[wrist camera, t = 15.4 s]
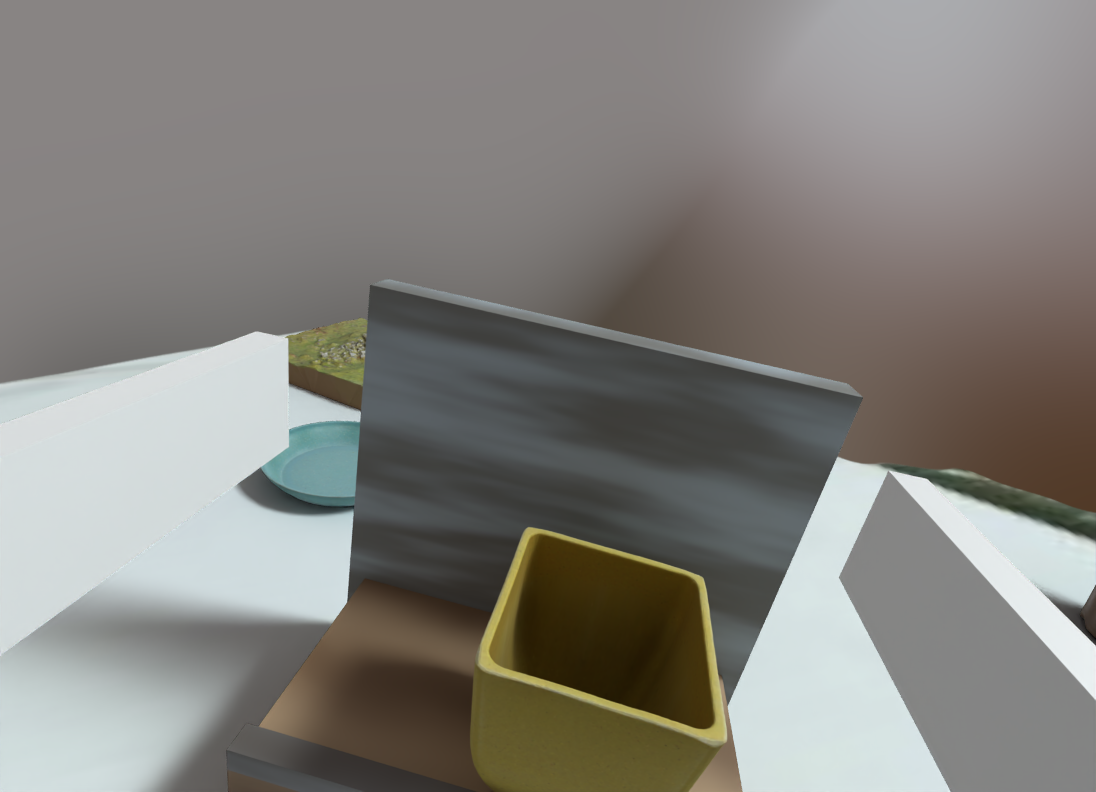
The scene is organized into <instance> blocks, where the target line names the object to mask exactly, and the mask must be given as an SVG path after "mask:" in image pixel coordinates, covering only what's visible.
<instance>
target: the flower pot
mask: <svg viewBox="0 0 1096 792" xmlns="http://www.w3.org/2000/svg"><path fill="white" fill-rule="evenodd" d="M726 742H727V728H726V721H725V715H724V709H723V702H722V695H721V689H720V683H719V677H718V670H717V663H716V655H715V648H714V642H713V633H712V627H711V620H710V610H709V604H708V597H707V590H706V586H705V582H704V579H703V577H701V576H699V575H696V574H694V573H691V572H688V571H686V570H683V569H680V568H676V567H673V566H670V565H667V564H664V563H660V562H657V561H653V560H650V559H647V558H643V557H640V556H636V555H632V554H629V553H625V552H622V551H618V550H615V549H611V548H608V547H604V546H600V545H597V544H593V543H590V542H586V541H583V540H579V539H576V538H572V537H569V536H566V535H562V534H559V533H555V532H551V531H547V530H542V529H537V528H532V527H528V528H526V529H525V530H524V532H523V534H522V536H521V539H520V542H519V544H518V547H517V550H516V552H515V555H514V558H513V561H512V563H511V566H510V569H509V571H508V574H507V577H506V579H505V582H504V585H503V587H502V590H501V592H500V595H499V597H498V600H497V603H496V605H495V608H494V610H493V612H492V615H491V617H490V620H489V622H488V624H487V627H486V629H485V632H484V634H483V637H482V639H481V642H480V645H479V648H478V650H477V654H476V657H475V667H474V678H473V694H472V711H471V728H470V747H471V754H472V759H473V763H474V766H475V768H476V770H477V772H478V774H479V776H480V777H481V779H482V780H483V781H484V782H485V784H486V785H487V786H488V787H489V788H490V789H492V790H493V791H494V792H689V791H690V789H691V788H692V787H693V785H694V784H695V782H696V781H697V780H698V779H699V777H700V776H701V775H702V773H703V772H704V771H705V769H706V768H707V767H708V765H709V764H710V762H711V761H712V760H713V758H714V757H715V756H716V754H717V753H718V752H719V750H720V749H721V748H722V747H723V745H724V744H725V743H726Z"/></svg>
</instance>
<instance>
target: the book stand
mask: <svg viewBox="0 0 1096 792" xmlns="http://www.w3.org/2000/svg"><path fill="white" fill-rule="evenodd" d="M862 399H863V397H862V396H861V395H860V394H859V393H858V392H856V391H855V390H854V389H853V388H852V387H851V386H849V385H848V384H846V383H842V382H838V381H833V380H829V379H824V378H820V377H815V376H811V375H807V374H802V373H798V372H793V371H789V370H785V369H780V368H776V367H772V366H767V365H763V364H758V363H754V362H750V361H745V360H741V359H736V358H732V357H728V356H723V355H718V354H715V353H710V352H706V351H701V350H697V349H692V348H688V347H684V346H679V345H675V344H670V343H666V342H662V341H657V340H652V339H648V338H644V337H640V336H635V335H631V334H626V333H622V332H618V331H613V330H609V329H605V328H600V327H596V326H591V325H587V324H583V323H578V322H574V321H570V320H565V319H560V318H556V317H552V316H547V315H543V314H539V313H534V312H530V311H525V310H521V309H517V308H512V307H508V306H504V305H499V304H495V303H490V302H486V301H482V300H477V299H473V298H468V297H464V296H460V295H455V294H450V293H446V292H442V291H438V290H433V289H429V288H424V287H420V286H416V285H411V284H407V283H402V282H398V281H394V280H389V279H386V280H383V281H380V282H377V283H374V284H371V285H370V294H369V308H368V322H367V336H366V350H365V364H364V377H363V391H362V405H361V419H360V433H359V447H358V461H357V475H356V489H355V503H354V516H353V530H352V544H351V558H350V572H349V586H348V600H347V604H346V605H345V606H344V608H343V609H342V611H341V612H340V613H339V615H338V616H337V618H336V619H335V620H334V622H333V623H332V625H331V626H330V627H329V629H328V630H327V632H326V633H325V634H324V636H323V637H322V639H321V640H320V641H319V643H318V644H317V645H316V647H315V648H314V650H313V651H312V652H311V654H310V655H309V657H308V658H307V659H306V661H305V662H304V664H303V665H302V666H301V668H300V669H299V671H298V672H297V673H296V675H295V676H294V678H293V679H292V680H291V682H290V683H289V684H288V686H287V687H286V689H285V690H284V691H283V693H282V694H281V696H280V697H279V698H278V700H277V701H276V703H275V704H274V705H273V707H272V708H271V710H270V711H269V712H268V714H267V715H266V717H265V718H264V719H263V721H262V722H261V723H260V725H259V726H255V725H252V724H249V723H246V724H245V726H244V727H243V728H242V730H241V731H240V732H239V734H238V735H237V736H236V738H235V739H234V740H233V742H232V743H231V745H230V746H229V747H228V749H227V776H228V792H494V791H493V790H492V789H490V788H489V787H488V786H487V785H486V784H485V782H484V781H483V780H482V779H481V777H480V776H479V774H478V772H477V770H476V768H475V766H474V763H473V759H472V754H471V747H470V728H471V711H472V694H473V678H474V667H475V657H476V654H477V650H478V648H479V645H480V642H481V639H482V637H483V634H484V632H485V629H486V627H487V624H488V622H489V620H490V617H491V615H492V612H493V610H494V608H495V605H496V603H497V600H498V597H499V595H500V592H501V590H502V587H503V585H504V582H505V579H506V577H507V574H508V571H509V569H510V566H511V563H512V561H513V558H514V555H515V552H516V550H517V547H518V544H519V542H520V539H521V536H522V534H523V532H524V530H525V529H526V528H528V527H532V528H537V529H542V530H547V531H551V532H555V533H559V534H562V535H566V536H569V537H572V538H576V539H579V540H583V541H586V542H590V543H593V544H597V545H600V546H604V547H608V548H611V549H615V550H618V551H622V552H625V553H629V554H632V555H636V556H640V557H643V558H647V559H650V560H653V561H657V562H660V563H664V564H667V565H670V566H673V567H676V568H680V569H683V570H686V571H688V572H691V573H694V574H696V575H699V576H701V577H703V579H704V582H705V586H706V590H707V597H708V604H709V610H710V620H711V627H712V633H713V642H714V648H715V655H716V663H717V670H718V677H719V683H720V689H721V695H722V702H723V709H724V715H725V721H726V728H727V742H726V743H725V744H724V745H723V747H722V748H721V749H720V750H719V752H718V753H717V754H716V756H715V757H714V758H713V760H712V761H711V762H710V764H709V765H708V767H707V768H706V769H705V771H704V772H703V773H702V775H701V776H700V777H699V779H698V780H697V781H696V782H695V784H694V785H693V787H692V788H691V789H690V791H689V792H742V786H741V781H740V775H739V769H738V764H737V758H736V752H735V747H734V741H733V735H732V730H731V724H730V719H729V713H728V707H727V706H728V704H729V702H730V699H731V697H732V695H733V693H734V690H735V688H736V686H737V684H738V681H739V679H740V677H741V674H742V672H743V670H744V668H745V665H746V663H747V661H748V659H749V656H750V654H751V652H752V649H753V647H754V645H755V643H756V640H757V638H758V636H759V634H760V631H761V629H762V627H763V624H764V622H765V620H766V618H767V615H768V613H769V611H770V609H771V606H772V604H773V602H774V599H775V597H776V595H777V593H778V590H779V588H780V586H781V583H782V581H783V579H784V577H785V574H786V572H787V570H788V568H789V565H790V563H791V561H792V558H793V556H794V554H795V552H796V549H797V547H798V545H799V543H800V540H801V538H802V536H803V533H804V531H805V529H806V527H807V524H808V522H809V520H810V518H811V515H812V513H813V511H814V508H815V506H816V504H817V502H818V499H819V497H820V495H821V493H822V490H823V488H824V486H825V483H826V481H827V479H828V477H829V474H830V472H831V470H832V468H833V465H834V463H835V461H836V458H837V456H838V453H839V452H840V449H841V447H842V445H843V442H844V440H845V438H846V436H847V433H848V431H849V429H850V427H851V424H852V422H853V420H854V417H855V415H856V413H857V411H858V408H859V406H860V404H861V402H862Z"/></svg>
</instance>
